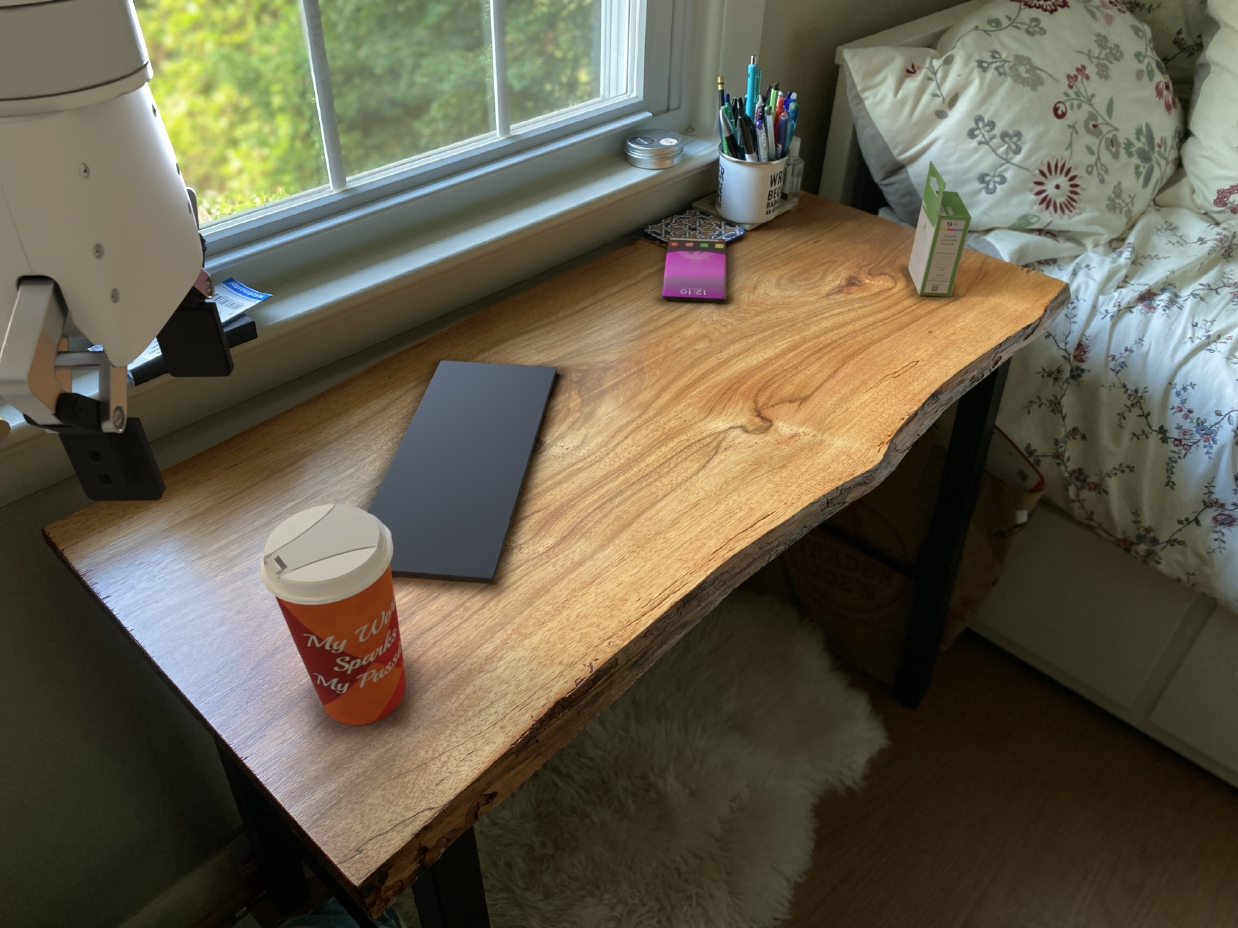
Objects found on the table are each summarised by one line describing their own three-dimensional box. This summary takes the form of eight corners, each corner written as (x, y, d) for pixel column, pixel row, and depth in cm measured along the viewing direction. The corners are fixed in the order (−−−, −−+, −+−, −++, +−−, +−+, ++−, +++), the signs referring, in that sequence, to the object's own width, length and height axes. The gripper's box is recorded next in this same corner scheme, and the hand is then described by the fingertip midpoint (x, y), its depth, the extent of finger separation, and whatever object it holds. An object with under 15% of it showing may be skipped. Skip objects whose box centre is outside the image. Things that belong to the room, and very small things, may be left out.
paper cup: (340, 760, 59) (291, 609, 50) (286, 687, 64) (232, 536, 55) (445, 694, 63) (416, 543, 54) (387, 629, 68) (352, 480, 59)
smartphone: (725, 245, 117) (726, 238, 116) (725, 303, 105) (726, 296, 105) (668, 243, 118) (668, 236, 117) (661, 300, 106) (661, 293, 105)
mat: (493, 584, 71) (492, 578, 71) (341, 572, 72) (340, 566, 72) (556, 371, 95) (556, 366, 94) (441, 365, 96) (440, 360, 95)
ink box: (953, 298, 106) (981, 184, 98) (917, 297, 107) (942, 183, 98) (940, 270, 112) (965, 160, 104) (906, 269, 112) (929, 159, 104)
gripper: (35, -9, 40) (156, 337, 51) (-250, 123, 26) (-4, 559, 37) (211, -9, 40) (294, 336, 51) (18, 122, 27) (187, 556, 37)
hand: (169, 430), depth 44 cm, fingers open, 9 cm apart
